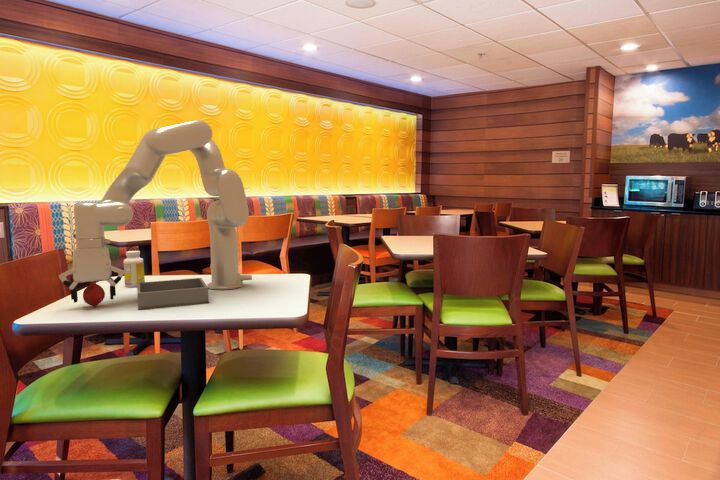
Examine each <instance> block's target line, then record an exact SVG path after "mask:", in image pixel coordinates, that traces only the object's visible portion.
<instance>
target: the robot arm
mask: <svg viewBox="0 0 720 480" xmlns="http://www.w3.org/2000/svg"><path fill="white" fill-rule="evenodd" d="M212 138H213V130H212V128H211V126H210V124H209V123H207V122H206V121H204V120H201V119H195V120H190V121H186V122H182V123H177V124H172V125H167V126H162V127H157V128H153V129H149V130H148V131H147V132H145V133H144V134H143V136H142V138H141V139H140V141H139V143H138V145H137V146H136V148H135V150H134V152H133V154H132V155H131V157H130V158H129V160H128V162H127V163H126V165H125V166H124V168H123V169H122V170H121V172H120V173H119V174H118V176H117V177H115V179H114V180H113V182H112V183H111V184H110V186H109V187H108V188H107V190H106V192H105V194H104V195H103V196H102V199H101V201H100V202H77V203H76V204H74V206H73V215H74V216H73V217H74V234H75V246H76V247H75V248H74V249H73V251H72V252H73V253H72V254H73V255H72V267H71V268H70V269H68V270H66V271H64V272H62V273H60V274H59V275H58V278H59V280H60V281H61V283H62V284H63V285H64V286H65V287H67V288H68V289H69V290H70V299H71V301H72V300H73V303H74V304H76V303H77V302H78V301H79V299H78V288H77V285H78V284H79V283H91V282H96V283H97V282H105V281H106V282H107V283H109V284H110V286H109V297H110V299H109V300H114V297H116V295H117V291H116V285H117V284H119V282H121V280H122V278H123V277H124V272H125V271H124V269H122V268H119V267H116V266H115V265H114V266H113V265H112V261H111V255H110V250H109V247H108V246H106V245H108V244H111V239H109V238H105V226H113V227H122V226H123V227H124V226H126V225H128V224H130V223H131V221H132V220H133V219H134V218H133V217H134V210H133V208H132V206H130V205H129V203H130V201H131V200H132V199H133V197H134V196H135V195H136V194H137V193H138V192H140V191H141V190H142V189H143V188H145V187H146V186H147V185H149V184H150V183H151V182H152V181H153V180H154V177H155V175H156V174H157V172H158V170H159V168H160V166H161V164H162V163H163V161H164V159H165V158H166V156H167V155H173V154H179V153H182V152H186V151H190V152H191V153H192V154H193V156H194V158H195V159H196V161H197V165H198V169H199V173H200V178H201V181H202V185H203V189H204V191H205V193H206V194H207V195H209V196H212V197H217V198H219V199H216V200H214V201H213V202H211V203H210V204H209V205H208V207H207V211H206V219H207V224H208V230H209V242H210V245H209V247H210V267H211V268H210V269H211V271H210V272H211V282H209V283H207V284H206V285H207V286H208V290H209V289H210V290H218V291H219V290H220V291H223V290H233V289H239V288H242V287H243V286H244V281H252V280H253V275H252V274H241V273H240V272H239V250H238V249H239V248H238V247H239V245H238V244H239V243H238V242H239V241H238V240H239V239H238V232H237V229H236V228H239V227H243V226H244V225H245V224H246V223H247V221H248V220H249V214H250V212H249V205H248V201H247V196H246V191H245V187H244V184H243V181H242V178H241V177H240V175H239V174H238V173H237V171H235V170H233V169H232V168H231V169H230V168H226V166H225V162H224V159H223V155H222V153H221V151H220V149H219V146H218V145H217V143H216V142H215V141H214V140H213V139H212ZM113 272H114V273H117V274H118V275H117V276H116V278H115V279H114V278H113V277H112V275H113ZM70 275H72V280H73V281H72V282H71V281H69V280H68V279H67V276H70Z"/></svg>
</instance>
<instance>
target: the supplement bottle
mask: <svg viewBox="0 0 720 480" xmlns="http://www.w3.org/2000/svg"><path fill="white" fill-rule="evenodd" d="M140 255H141V251H140V250H128V251H127V250H126V251H125V256H126V258H125V259H123V270H124V271H125V272H124V274H123V278H124V285H125V288H137V283H141V282H146V281H145V266H144V258H142V257H140Z"/></svg>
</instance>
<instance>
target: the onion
mask: <svg viewBox="0 0 720 480" xmlns="http://www.w3.org/2000/svg"><path fill="white" fill-rule="evenodd" d="M105 296H106V292H105V290H104V288H103V287H102V286H100V285H99V284H98V283H97V282H90V283H89V284H88V286H86V287H85V289H84V290H83V293H82V299H83V301H84V303H86V304H87V305H89V306H90V307H93V308H97V306H99V305H100V304H101V303H102V302H103V301H104V299H105Z"/></svg>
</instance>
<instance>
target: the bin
mask: <svg viewBox="0 0 720 480" xmlns="http://www.w3.org/2000/svg"><path fill="white" fill-rule="evenodd" d="M136 288H137V290H136V292H137V308H138V309H137V310H138V311H143V310H153V309H155V310H156V309H164V308H173V307H182V306H184V307H185V306H193V305H194V306H195V305H204V304H205V305H206V304H210V302H209V288H208V286H207V284H206V283H205V281H204V280H203V278H202V277H196V278H195V277H194V278H184V279H183V278H181V279H169V280H167V279H166V280H158V281H157V280H155V281H154V280H153V281H145V282H141V283H137V287H136Z"/></svg>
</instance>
